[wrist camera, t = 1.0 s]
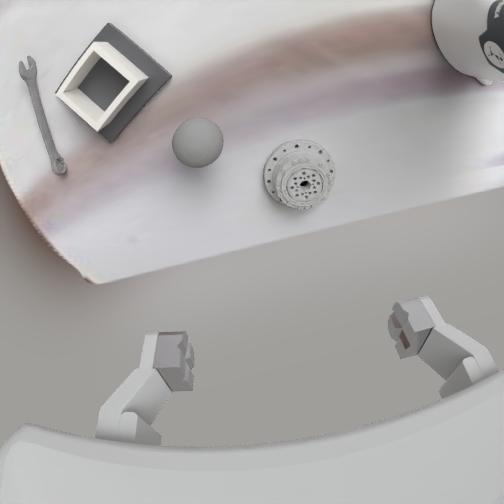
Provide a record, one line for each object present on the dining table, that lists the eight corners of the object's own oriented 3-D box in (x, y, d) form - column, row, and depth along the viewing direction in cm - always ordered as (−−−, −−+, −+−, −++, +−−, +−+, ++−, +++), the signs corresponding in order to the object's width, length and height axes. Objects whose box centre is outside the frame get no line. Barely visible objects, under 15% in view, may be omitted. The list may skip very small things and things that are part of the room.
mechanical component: (329, 134, 37) (257, 145, 37) (339, 144, 33) (260, 156, 34) (334, 197, 43) (269, 208, 44) (342, 211, 39) (272, 224, 40)
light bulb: (186, 149, 37) (173, 178, 29) (180, 110, 33) (163, 129, 26) (227, 143, 37) (225, 172, 29) (223, 104, 33) (218, 120, 25)
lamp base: (110, 23, 24) (94, 20, 20) (172, 75, 30) (163, 78, 26) (58, 91, 29) (39, 98, 25) (113, 140, 35) (99, 152, 31)
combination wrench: (59, 178, 34) (22, 55, 21) (53, 180, 34) (16, 59, 21) (70, 167, 37) (37, 52, 24) (64, 170, 37) (31, 56, 24)
